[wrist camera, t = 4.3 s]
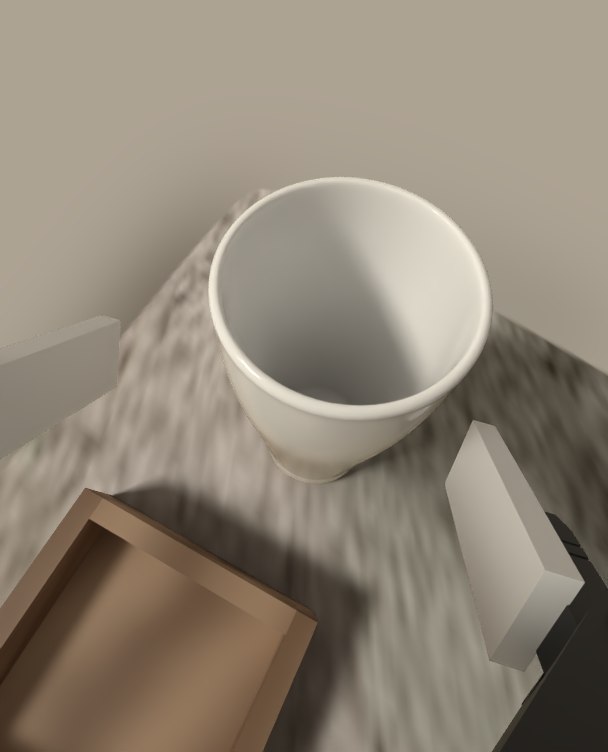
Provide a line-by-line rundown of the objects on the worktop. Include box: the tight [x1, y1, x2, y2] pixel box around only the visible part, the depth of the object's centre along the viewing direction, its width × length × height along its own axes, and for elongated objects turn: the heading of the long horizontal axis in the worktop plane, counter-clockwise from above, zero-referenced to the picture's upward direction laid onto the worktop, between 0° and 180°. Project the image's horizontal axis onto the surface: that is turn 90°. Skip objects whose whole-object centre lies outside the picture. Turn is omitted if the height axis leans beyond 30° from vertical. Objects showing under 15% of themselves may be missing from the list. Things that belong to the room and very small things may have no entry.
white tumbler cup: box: [208, 177, 493, 484], centre depth 16 cm, size 7×7×15 cm
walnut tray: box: [0, 488, 318, 752], centre depth 17 cm, size 12×12×3 cm
